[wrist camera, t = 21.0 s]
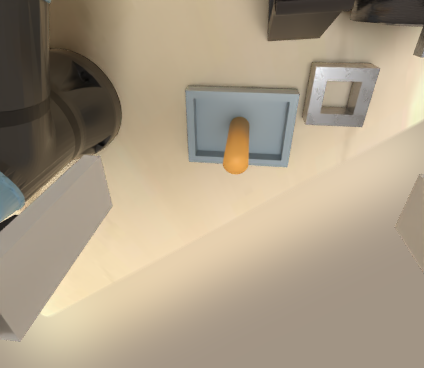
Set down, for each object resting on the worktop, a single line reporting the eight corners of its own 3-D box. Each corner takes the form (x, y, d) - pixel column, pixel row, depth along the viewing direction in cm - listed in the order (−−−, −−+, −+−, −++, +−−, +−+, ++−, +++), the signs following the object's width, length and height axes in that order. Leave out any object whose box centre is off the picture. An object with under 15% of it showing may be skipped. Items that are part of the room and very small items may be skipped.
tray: (192, 153, 44) (189, 161, 42) (189, 85, 38) (185, 90, 36) (285, 159, 43) (287, 167, 41) (296, 88, 37) (299, 94, 35)
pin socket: (302, 116, 39) (305, 124, 36) (311, 62, 35) (316, 66, 33) (355, 118, 38) (362, 127, 36) (370, 63, 34) (380, 68, 32)
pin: (229, 135, 41) (222, 173, 32) (229, 116, 40) (222, 151, 30) (248, 135, 41) (247, 174, 32) (250, 117, 39) (249, 152, 30)
